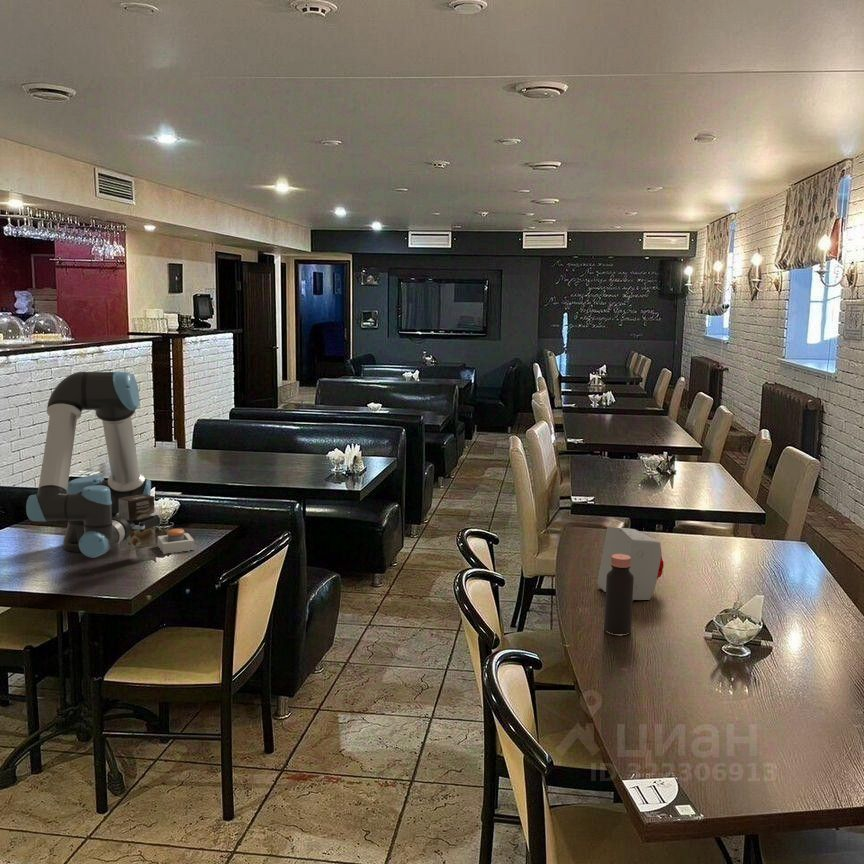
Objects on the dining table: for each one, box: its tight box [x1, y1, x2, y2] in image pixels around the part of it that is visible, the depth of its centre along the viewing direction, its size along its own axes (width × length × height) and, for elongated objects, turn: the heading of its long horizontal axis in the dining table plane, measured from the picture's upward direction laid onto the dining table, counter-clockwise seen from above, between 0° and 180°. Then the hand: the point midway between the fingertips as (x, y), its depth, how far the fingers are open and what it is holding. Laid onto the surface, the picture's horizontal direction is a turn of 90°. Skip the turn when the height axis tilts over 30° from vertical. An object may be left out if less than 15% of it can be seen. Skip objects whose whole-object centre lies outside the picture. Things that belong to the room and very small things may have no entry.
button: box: [166, 528, 185, 542], centre depth 286 cm, size 6×6×5 cm
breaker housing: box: [157, 532, 195, 555], centre depth 286 cm, size 10×10×4 cm
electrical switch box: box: [596, 526, 664, 601], centre depth 249 cm, size 15×15×20 cm
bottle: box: [603, 554, 634, 634], centre depth 219 cm, size 7×7×20 cm
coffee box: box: [118, 494, 156, 552], centre depth 272 cm, size 9×6×16 cm
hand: (142, 514), depth 276 cm, fingers closed on coffee box, 10 cm apart
